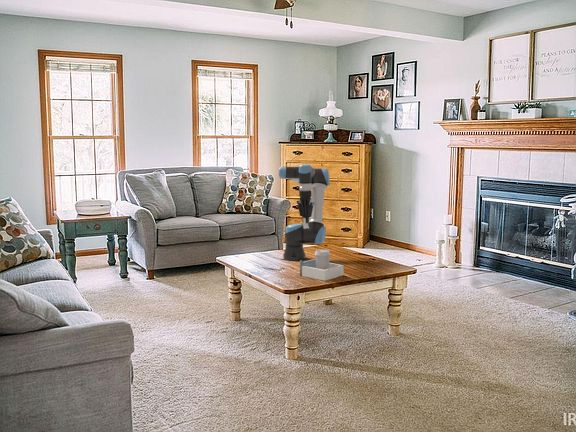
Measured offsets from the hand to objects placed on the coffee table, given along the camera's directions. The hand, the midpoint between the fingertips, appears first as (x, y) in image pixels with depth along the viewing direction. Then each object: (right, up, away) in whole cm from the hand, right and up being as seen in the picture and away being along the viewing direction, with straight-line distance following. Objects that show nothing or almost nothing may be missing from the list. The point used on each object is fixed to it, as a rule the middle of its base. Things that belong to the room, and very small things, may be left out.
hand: (305, 228), depth 351 cm
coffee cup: (+9, -28, -15) cm, 33 cm away
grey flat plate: (+2, -26, -9) cm, 28 cm away
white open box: (+9, -28, -15) cm, 33 cm away
